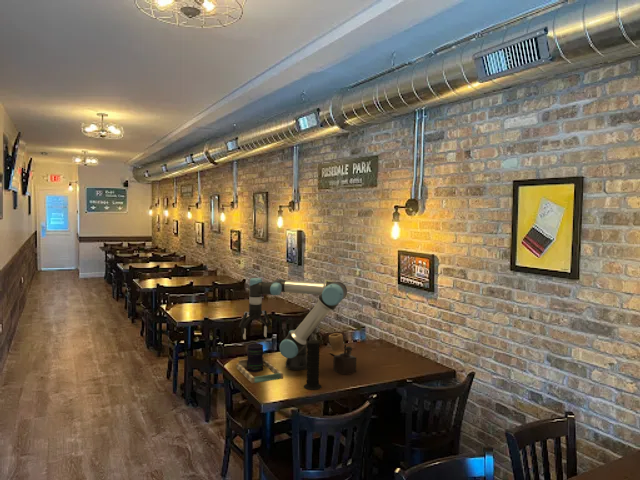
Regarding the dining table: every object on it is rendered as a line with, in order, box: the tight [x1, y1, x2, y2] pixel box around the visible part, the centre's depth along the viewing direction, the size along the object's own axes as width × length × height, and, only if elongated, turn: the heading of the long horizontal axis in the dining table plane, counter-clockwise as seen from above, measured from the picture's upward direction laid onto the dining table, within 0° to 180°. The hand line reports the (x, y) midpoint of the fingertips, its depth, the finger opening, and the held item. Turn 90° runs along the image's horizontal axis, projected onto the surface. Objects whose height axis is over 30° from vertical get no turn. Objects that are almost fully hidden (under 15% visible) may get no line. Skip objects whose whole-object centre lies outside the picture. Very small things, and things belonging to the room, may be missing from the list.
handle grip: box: [303, 339, 323, 391], centre depth 263 cm, size 10×26×10 cm
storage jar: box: [246, 343, 264, 373], centre depth 291 cm, size 10×10×15 cm
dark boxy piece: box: [332, 344, 357, 376], centre depth 288 cm, size 16×11×18 cm
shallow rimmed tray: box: [235, 356, 284, 384], centre depth 285 cm, size 29×19×5 cm, turn 28°
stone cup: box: [328, 332, 352, 356], centre depth 323 cm, size 15×12×15 cm
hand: (254, 337), depth 290 cm, fingers open, 13 cm apart
